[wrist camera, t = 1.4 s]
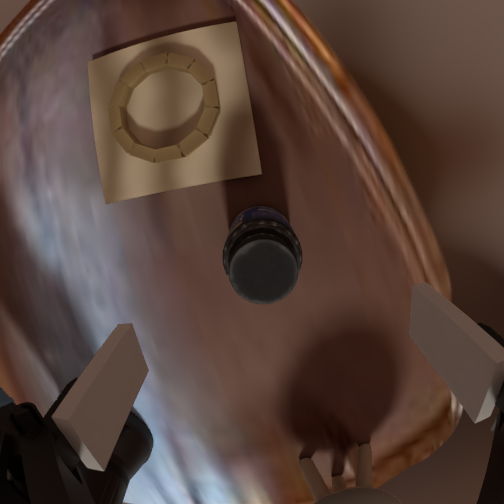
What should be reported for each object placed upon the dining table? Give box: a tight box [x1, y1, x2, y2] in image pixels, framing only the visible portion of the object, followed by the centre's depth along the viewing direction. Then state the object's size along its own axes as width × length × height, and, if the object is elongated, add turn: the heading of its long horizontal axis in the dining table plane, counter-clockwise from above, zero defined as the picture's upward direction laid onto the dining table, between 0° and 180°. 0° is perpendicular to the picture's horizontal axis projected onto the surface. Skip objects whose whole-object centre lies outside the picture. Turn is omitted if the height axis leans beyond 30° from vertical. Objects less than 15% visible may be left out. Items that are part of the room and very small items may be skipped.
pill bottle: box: [223, 205, 302, 304], centre depth 26 cm, size 6×6×11 cm
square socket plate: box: [88, 22, 262, 204], centre depth 27 cm, size 16×16×3 cm
